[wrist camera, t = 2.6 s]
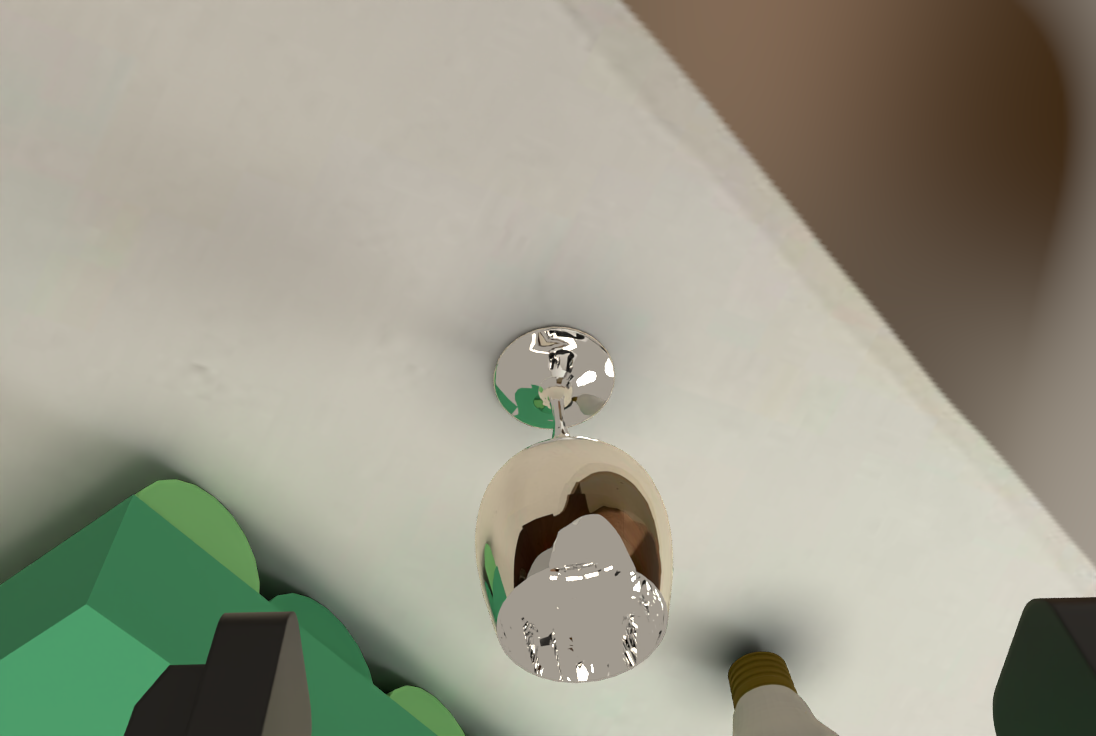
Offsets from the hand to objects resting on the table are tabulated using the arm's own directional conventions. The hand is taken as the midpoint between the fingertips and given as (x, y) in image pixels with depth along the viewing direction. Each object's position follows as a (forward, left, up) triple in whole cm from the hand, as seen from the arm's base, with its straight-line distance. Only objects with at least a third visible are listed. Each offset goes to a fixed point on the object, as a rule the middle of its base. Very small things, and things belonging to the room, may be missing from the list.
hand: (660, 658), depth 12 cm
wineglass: (-5, +11, -24) cm, 27 cm away
